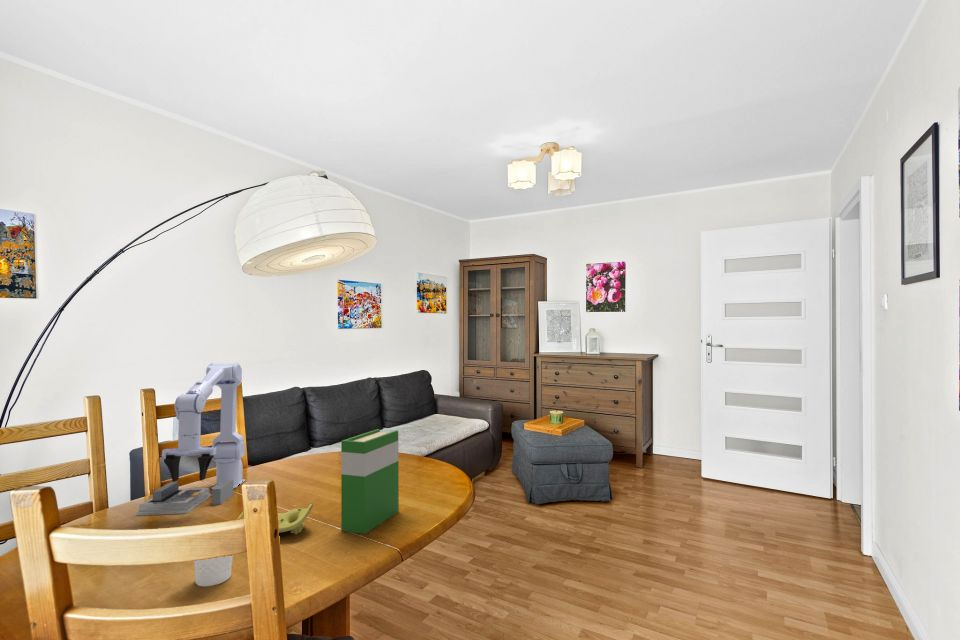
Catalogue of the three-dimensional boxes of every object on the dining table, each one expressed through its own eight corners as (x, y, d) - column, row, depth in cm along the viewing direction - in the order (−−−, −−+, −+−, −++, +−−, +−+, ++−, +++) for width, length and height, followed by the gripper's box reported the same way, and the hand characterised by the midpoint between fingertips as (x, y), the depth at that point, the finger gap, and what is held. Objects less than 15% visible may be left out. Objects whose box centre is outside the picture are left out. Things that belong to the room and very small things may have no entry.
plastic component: (229, 529, 126) (251, 500, 135) (239, 549, 129) (259, 520, 138) (297, 528, 122) (315, 499, 131) (306, 549, 125) (323, 519, 134)
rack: (166, 498, 159) (166, 479, 159) (210, 496, 160) (211, 477, 160) (136, 515, 143) (137, 495, 143) (186, 513, 144) (186, 493, 144)
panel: (225, 495, 161) (225, 480, 162) (233, 494, 162) (233, 479, 162) (212, 505, 152) (212, 489, 152) (220, 504, 152) (220, 488, 152)
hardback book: (377, 508, 147) (377, 429, 148) (398, 511, 144) (398, 430, 145) (341, 530, 130) (341, 440, 131) (364, 533, 127) (364, 442, 128)
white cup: (194, 592, 99) (195, 542, 99) (190, 577, 105) (191, 530, 105) (236, 580, 103) (237, 533, 104) (230, 567, 110) (231, 522, 110)
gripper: (156, 437, 140) (155, 485, 139) (208, 436, 141) (208, 482, 140) (169, 433, 147) (168, 478, 146) (219, 431, 148) (219, 476, 147)
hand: (189, 480), depth 144 cm, fingers open, 7 cm apart
